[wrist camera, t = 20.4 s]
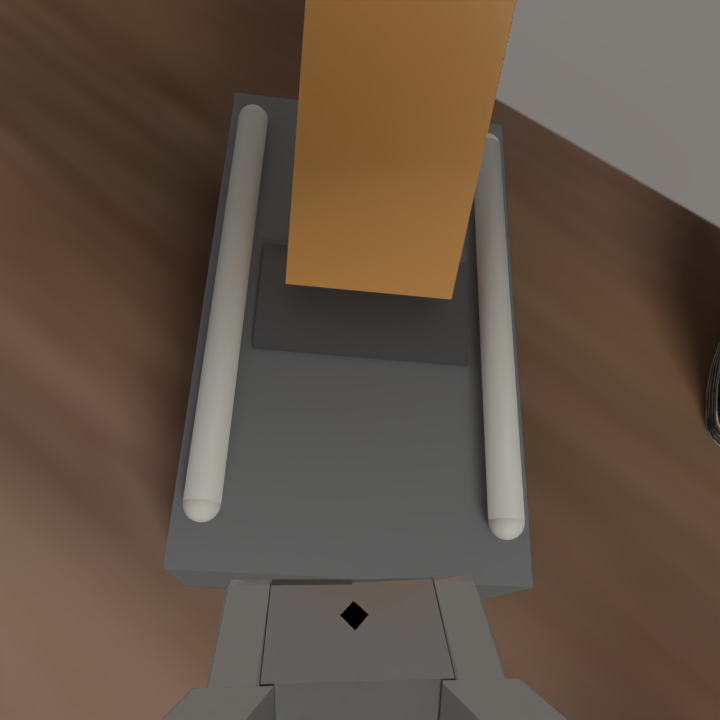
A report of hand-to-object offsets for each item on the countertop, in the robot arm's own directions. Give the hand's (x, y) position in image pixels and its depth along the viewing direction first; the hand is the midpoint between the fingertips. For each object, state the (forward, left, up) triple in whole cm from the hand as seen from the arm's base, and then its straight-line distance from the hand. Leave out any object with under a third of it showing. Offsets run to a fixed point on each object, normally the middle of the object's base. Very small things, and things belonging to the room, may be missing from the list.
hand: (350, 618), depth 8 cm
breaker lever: (-1, -12, -13) cm, 17 cm away
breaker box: (-1, -12, -19) cm, 23 cm away
